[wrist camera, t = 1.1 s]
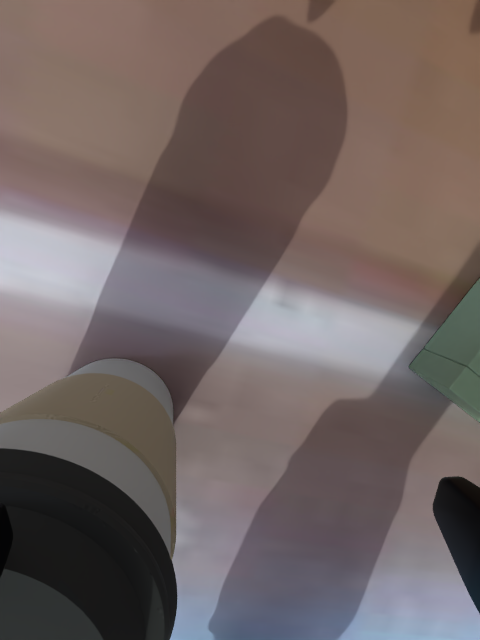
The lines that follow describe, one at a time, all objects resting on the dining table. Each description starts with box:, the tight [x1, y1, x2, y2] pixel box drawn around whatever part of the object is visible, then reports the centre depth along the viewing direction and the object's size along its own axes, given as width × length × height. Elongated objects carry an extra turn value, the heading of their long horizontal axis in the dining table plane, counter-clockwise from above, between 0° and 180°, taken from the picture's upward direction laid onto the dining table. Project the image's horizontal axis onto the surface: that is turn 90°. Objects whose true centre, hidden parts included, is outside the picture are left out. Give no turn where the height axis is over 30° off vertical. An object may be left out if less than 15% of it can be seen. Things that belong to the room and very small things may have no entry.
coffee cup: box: [0, 358, 177, 640], centre depth 15 cm, size 9×9×15 cm
